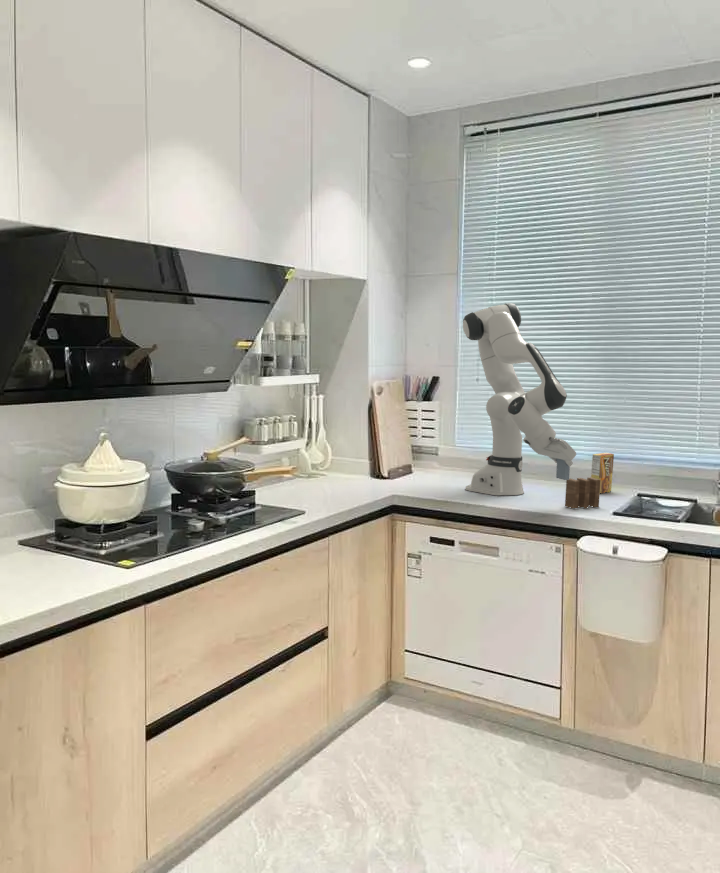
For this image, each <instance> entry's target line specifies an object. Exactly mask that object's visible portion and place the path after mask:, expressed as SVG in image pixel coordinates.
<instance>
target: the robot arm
mask: <svg viewBox="0 0 720 873" xmlns="http://www.w3.org/2000/svg"><path fill="white" fill-rule="evenodd" d="M521 324H522V315H521V311H520V309H519V307H518V306H517V304H515V303H512V302H510V303H509V302H508V303H504V304H498V305H492V306H489V307H486V308H484V309H480V310H477V311H475V312H473V311H471V312H470V313H467V314H466V315H465V316H464V318H463V320H462V330H463V332H464V334H465V336H466V338H467V339H469V340H470V341H477V344H478V352H479V357H480V360H481V365H482V368H483V371H484V375H485V378H486V381H487V383H488V384H489V385H490V386H491V388H492V390H493V391H494V393H495V394H493V395H492V396H491V397H489V399H487V402H486V405H485V409H486V414H487V415H488V416H489V418H490V423H491V424H490V425H491V431H492V451H491V452H492V454H490V455H489V456H487V457H486V459H485V461H487V464H485V465H484V466H483V467H481V468H479V470H477V471H476V472H475V473H473V476H472V478H471V483H470V484H468V485H466V486H465V489H464V490H465V491H470V492H473V493H474V492H475V493H481V494H484V495H485V494H486V495H492V496H517V495H518V496H519V495H523V494H524V493H525V491H524V487H523V481H522V471H523V456H522V454H523V451H522V448H523V442H524V443H525V444H527V445H528V446H529V447H530V449H531V450H532V451H534V452H535V453H536V454H537V455H541V456H544V457H548V458H550V459H551V460H552V461H554V462H555V463H556V464H557V458H558V459H562V460H565V464H566V465H567V466H570V467H571V466H573V465H574V464H573V460H574V458H575V457H576V456H577V452H576V450H575V449H574V448H573V447H572V446H571V445H570V444H569V443H568V442H567V441H566V440H564V439H562V438H557V437H556V436H557V432H556V431H555V429H554V428H553V427H552V426H551V425H550V424H549V422H548V421H547V420H545V419H544V418H543V415H546V414H548V413H549V412H552V411H554V410H558V409H560V408H562V407H563V406H564V405H565V403H566V400H567V397H568V395H567V392H566V390H565V388H564V386H563V385H562V384H561V382H560V380H558V378H557V377H556V376H555V374H554V372H553V371H552V368H551V367H550V365H549V364H548V363H547V361H546V359H545V358H544V356H543V355H542V353H541V352H540V350H539V349H538V348H537V347H536V345H534V344H533V343H532V342H526V341H525V339H523V337H522V334H521V332H520V329H519V327H520V326H521ZM524 363H530V364H531V366H532V368H533V369H534V371H535V372H536V374H537V375H538V377H539V379H540V381H541V383H540V384H539V385H538V386H536V387H534V388H532V389H529V390H528V391H526V392H525V390H524V388H523V386H522V384H521V382H520V380H519V378H518V376H517V374H516V371H515V368H514V365H515V364H524ZM521 432H522V433H523V434H524V437H523V435H522V433H521Z"/></svg>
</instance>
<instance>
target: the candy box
mask: <svg viewBox="0 0 720 873" xmlns="http://www.w3.org/2000/svg"><path fill="white" fill-rule="evenodd" d="M614 459H615V454H614V453H611V452H601V453H593V454H592V458H591V473H590V474H591V476H590V477H592V478H595V479H599V480H600V493H601V494H605V492H607V493H611V492H612V487H613V473H614ZM610 491H611V492H610Z"/></svg>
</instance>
